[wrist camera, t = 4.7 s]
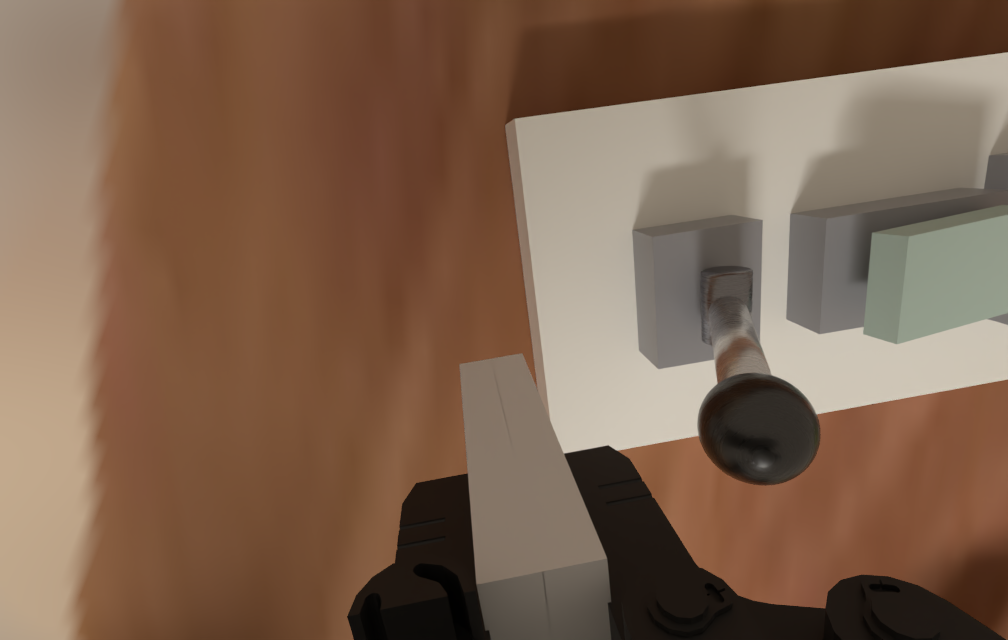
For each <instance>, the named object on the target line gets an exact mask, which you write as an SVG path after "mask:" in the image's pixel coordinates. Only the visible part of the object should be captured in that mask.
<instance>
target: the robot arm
mask: <svg viewBox="0 0 1008 640" xmlns="http://www.w3.org/2000/svg"><path fill="white" fill-rule="evenodd" d="M459 365H460V378H461V391H462V404H463V417H464V430H465V443H466V456H467V469H468V474H463V475H457V476H452V477H446V478H441V479H436V480H430V481H425V482H420V483H416V484H415V486H414V487H413V489H412V490H411V492H410V493H409V495H408V496H407V498H406V499H405V501H404V502H403V504H402V511H401V519H400V531H399V535H398V543H397V547H398V550H397V551H396V559H395V563H394V564H392V565H390V566H389V567H387V568H386V569H384V570H383V571H381V572H380V573H378V574H377V575H375V576H374V577H372V578H371V579H370V581H369V582H368V583H367V584H366V585H365V586H364V587H363V588H362V590H361V591H360V592H359V593H358V594H357V595H356V597H355V600H354V602H353V604H352V607H351V609H350V611H349V614H348V616H347V617H348V621H349V624H350V627H351V630H352V634H353V637H354V640H1006V639H1004V638H1003V637H1001V636H1000V635H998V634H997V633H995V632H994V631H992V630H991V629H989V628H988V627H986V626H985V625H983V624H982V623H980V622H979V621H977V620H976V619H974V618H973V617H971V616H970V615H968V614H966V613H965V612H963V611H962V610H960V609H959V608H957V607H956V606H954V605H953V604H951V603H950V602H948V601H946V600H945V599H943V598H941V597H939V596H937V595H935V594H933V593H931V592H929V591H928V590H926V589H924V588H922V587H920V586H918V585H915V584H911V583H908V582H905V581H901V580H898V579H895V578H891V577H887V576H873V575H859V576H855V577H851V578H847V579H843V580H840V581H839V582H838V583H837V584H836V585H835V586H834V587H833V588H832V589H831V590H830V591H829V592H828V596H827V602H826V609H823V608H811V607H799V606H787V605H775V604H768V603H763V602H757V601H752V600H749V599H746V598H744V597H741V596H738V595H737V594H736V593H735V592H734V591H733V590H732V589H731V588H730V587H729V586H728V585H727V584H726V583H725V582H724V580H722V579H720V578H719V577H717V576H715V575H713V574H712V573H710V572H708V571H706V570H704V569H703V568H699V567H698V566H697V565H696V564H695V562H694V561H693V559H692V557H691V556H690V554H689V553H688V551H687V550H686V548H685V546H684V545H683V543H682V542H681V540H680V538H679V537H678V535H677V534H676V532H675V530H674V529H673V527H672V526H671V524H670V522H669V521H668V519H667V518H666V516H665V515H664V513H663V511H662V510H661V508H660V507H659V505H658V503H657V502H656V500H655V499H654V498H652V495H651V492H650V491H649V489H648V488H647V486H646V484H645V483H644V481H643V482H642V479H641V476H640V475H639V473H638V472H637V470H636V468H635V467H634V465H633V464H632V462H631V461H630V459H629V458H627V457H626V456H624V455H623V454H621V453H620V452H618V451H617V450H615V449H614V448H612V447H610V446H609V445H607V446H602V447H597V448H591V449H586V450H580V451H575V452H570V453H563V450H562V448H561V446H560V443H559V441H558V438H557V436H556V434H555V431H554V429H553V426H552V424H551V421H550V419H549V417H548V414H547V412H546V409H545V407H544V405H543V402H542V400H541V397H540V395H539V392H538V390H537V388H536V385H535V383H534V380H533V378H532V376H531V373H530V371H529V368H528V366H527V363H526V361H525V359H524V356H523V354H516V355H510V356H504V357H499V358H493V359H487V360H481V361H475V362H470V363H464V364H459Z"/></svg>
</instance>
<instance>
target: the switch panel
mask: <svg viewBox="0 0 1008 640" xmlns="http://www.w3.org/2000/svg"><path fill="white" fill-rule="evenodd" d="M505 130H506V138H507V146H508V154H509V162H510V170H511V178H512V186H513V194H514V202H515V210H516V218H517V227H518V235H519V243H520V251H521V259H522V267H523V275H524V283H525V291H526V299H527V307H528V315H529V324H530V332H531V340H532V348H533V356H534V364H535V372H536V380H537V388H538V392H539V395H540V397H541V400H542V402H543V405H544V407H545V409H546V412H547V414H548V417H549V419H550V421H551V424H552V426H553V429H554V431H555V434H556V436H557V438H558V441H559V443H560V446H561V448H562V450H563V453H570V452H575V451H580V450H586V449H591V448H597V447H602V446H607V445H609V446H610V447H612V448H614V449H615V450H623V449H628V448H634V447H639V446H645V445H650V444H656V443H661V442H667V441H672V440H678V439H683V438H688V437H694V436H699V435H698V428H697V421H698V413H699V409H700V407H701V404H702V402H703V400H704V398H705V396H706V395H707V394H708V393H709V391H710V390H711V389H712V388H713V387H714V386H715V385H717V376H716V369H715V361H714V354H713V346H711V345H708V344H706V343H704V342H703V341H702V339H701V271H702V270H704V269H707V268H712V267H718V266H742V267H747V268H750V269H752V270H753V296H752V322H753V324H754V327H755V330H756V333H757V336H758V338H759V341H760V344H761V347H762V349H763V352H764V355H765V358H766V360H767V363H768V366H769V369H770V371H771V374H772V375H773V376H776V377H778V378H781V379H783V380H785V381H787V382H789V383H790V384H792V385H793V386H795V387H796V388H797V389H799V390H800V391H801V392H802V393H803V394H804V395H805V396H806V398H807V399H808V400H809V401H810V403H811V404H812V406H813V408H814V410H815V412H816V414H820V413H826V412H831V411H837V410H842V409H848V408H853V407H859V406H864V405H870V404H875V403H881V402H886V401H892V400H897V399H903V398H908V397H914V396H919V395H925V394H930V393H936V392H941V391H947V390H952V389H958V388H963V387H969V386H974V385H980V384H985V383H990V382H996V381H1001V380H1007V379H1008V313H1006V314H1002V315H999V316H995V317H992V318H988V319H985V320H981V321H978V322H974V323H971V324H967V325H964V326H960V327H957V328H953V329H949V330H946V331H942V332H939V333H935V334H932V335H928V336H925V337H921V338H918V339H914V340H911V341H907V342H904V343H900V344H894V343H891V342H887V341H884V340H881V339H878V338H874V337H871V336H868V335H864V334H863V330H864V318H865V307H866V296H867V284H868V273H869V262H870V250H871V239H872V233H873V232H878V231H882V230H887V229H892V228H896V227H901V226H906V225H911V224H915V223H920V222H925V221H929V220H934V219H939V218H943V217H948V216H953V215H957V214H962V213H967V212H971V211H976V210H981V209H985V208H990V207H995V206H999V205H1008V52H1007V53H999V54H992V55H984V56H977V57H969V58H962V59H954V60H947V61H940V62H932V63H925V64H917V65H910V66H902V67H895V68H888V69H880V70H873V71H865V72H858V73H850V74H843V75H836V76H828V77H821V78H813V79H806V80H798V81H791V82H784V83H776V84H769V85H761V86H754V87H746V88H739V89H732V90H724V91H717V92H709V93H702V94H694V95H687V96H680V97H672V98H665V99H657V100H650V101H642V102H635V103H628V104H620V105H613V106H605V107H598V108H590V109H583V110H575V111H568V112H561V113H553V114H546V115H538V116H531V117H523V118H516V119H513V120H512V121H510V122H509V123H507V124H506V125H505Z"/></svg>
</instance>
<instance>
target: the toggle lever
mask: <svg viewBox="0 0 1008 640" xmlns="http://www.w3.org/2000/svg"><path fill="white" fill-rule="evenodd" d="M752 296H753V270H752V269H750V268H747V267H742V266H718V267H712V268H707V269H704V270H702V271H701V339H702V341H703V342H704V343H706V344H708V345H711V346H713V354H714V361H715V369H716V376H717V385H715V386H714V387H713V388H712V389H711V390H710V391H709V393H708V394H707V395H706V396H705V398H704V400H703V402H702V404H701V407H700V409H699V413H698V421H697V428H698V435H699V439H700V442H701V444H702V447H703V449H704V451H705V452H706V454H707V456H708V457H709V458H710V459H711V461H712V462H713V463H714V464H715V465H716V466H717V467H718V468H719V469H720V470H722V471H723V472H724V473H726V474H727V475H729V476H731V477H732V478H735V479H737V480H739V481H742V482H745V483H749V484H754V485H775V484H780V483H784V482H786V481H789V480H791V479H793V478H795V477H797V476H798V475H800V474H801V473H802V472H804V471H805V470H806V469H807V468H808V466H809V465H810V464H811V462H812V461H813V460H814V458H815V456H816V454H817V451H818V448H819V444H820V425H819V420H818V417H817V414H816V412H815V410H814V408H813V406H812V404H811V403H810V401H809V400H808V399H807V398H806V396H805V395H804V394H803V393H802V392H801V391H800V390H799V389H797V388H796V387H795V386H793V385H792V384H790V383H789V382H787V381H785V380H783V379H781V378H778V377H776V376H773V375H772V374H771V371H770V369H769V366H768V363H767V360H766V358H765V355H764V352H763V349H762V347H761V344H760V341H759V338H758V336H757V333H756V330H755V327H754V324H753V322H752Z"/></svg>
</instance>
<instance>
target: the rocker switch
mask: <svg viewBox="0 0 1008 640" xmlns="http://www.w3.org/2000/svg"><path fill="white" fill-rule="evenodd" d="M1006 313H1008V205H999V206H995V207H990V208H985V209H981V210H976V211H971V212H967V213H962V214H957V215H953V216H948V217H943V218H939V219H934V220H929V221H925V222H920V223H915V224H911V225H906V226H901V227H896V228H892V229H887V230H882V231H878V232H873V233H872V239H871V250H870V262H869V273H868V284H867V296H866V307H865V318H864V330H863V334H864V335H868V336H871V337H874V338H878V339H881V340H884V341H887V342H891V343H894V344H900V343H904V342H907V341H911V340H914V339H918V338H921V337H925V336H928V335H932V334H935V333H939V332H942V331H946V330H949V329H953V328H957V327H960V326H964V325H967V324H971V323H974V322H978V321H981V320H985V319H988V318H992V317H995V316H999V315H1002V314H1006Z"/></svg>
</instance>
